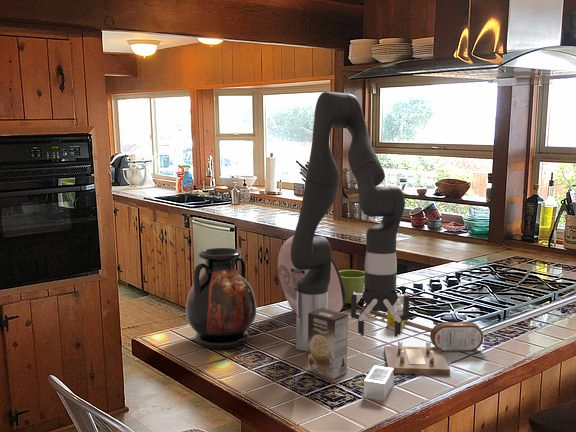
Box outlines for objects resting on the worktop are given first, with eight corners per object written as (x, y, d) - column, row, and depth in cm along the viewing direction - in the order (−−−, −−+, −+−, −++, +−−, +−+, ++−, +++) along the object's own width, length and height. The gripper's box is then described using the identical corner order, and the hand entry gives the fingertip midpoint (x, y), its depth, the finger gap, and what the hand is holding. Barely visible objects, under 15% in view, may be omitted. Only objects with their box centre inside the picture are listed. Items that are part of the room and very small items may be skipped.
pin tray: (388, 373, 155) (388, 356, 154) (384, 351, 171) (384, 336, 170) (450, 374, 153) (450, 358, 153) (440, 352, 169) (440, 337, 169)
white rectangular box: (363, 398, 141) (363, 380, 140) (374, 382, 150) (374, 365, 149) (384, 401, 139) (384, 383, 138) (393, 385, 148) (393, 367, 147)
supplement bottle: (383, 326, 193) (384, 297, 192) (396, 323, 196) (397, 295, 194) (393, 330, 188) (394, 301, 187) (407, 328, 191) (407, 299, 190)
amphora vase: (227, 325, 196) (225, 242, 192) (271, 340, 180) (270, 251, 176) (172, 341, 181) (169, 251, 177) (215, 359, 165) (212, 262, 162)
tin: (480, 348, 172) (481, 320, 171) (484, 352, 169) (485, 324, 168) (429, 349, 172) (430, 321, 171) (432, 353, 169) (433, 324, 168)
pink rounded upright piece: (353, 319, 200) (354, 232, 196) (311, 331, 188) (310, 239, 184) (311, 305, 217) (310, 225, 213) (269, 316, 205) (268, 231, 201)
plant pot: (328, 302, 220) (329, 273, 219) (350, 296, 228) (350, 268, 227) (352, 309, 212) (352, 279, 210) (373, 303, 219) (374, 273, 218)
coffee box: (306, 370, 157) (306, 312, 155) (321, 363, 162) (321, 307, 160) (333, 379, 151) (334, 319, 149) (348, 372, 156) (348, 313, 154)
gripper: (350, 272, 137) (349, 339, 140) (412, 274, 136) (410, 342, 138) (350, 265, 145) (349, 329, 147) (409, 266, 143) (407, 331, 146)
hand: (379, 335), depth 143 cm, fingers open, 7 cm apart
